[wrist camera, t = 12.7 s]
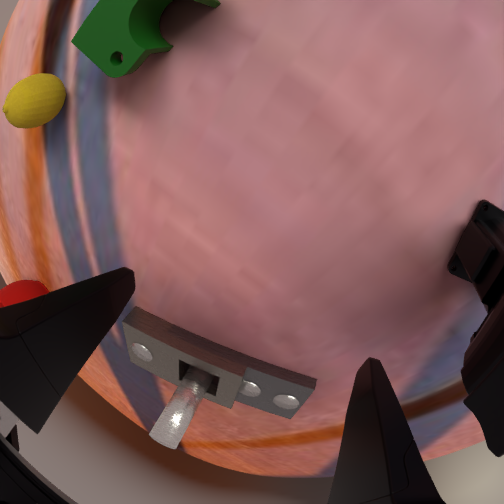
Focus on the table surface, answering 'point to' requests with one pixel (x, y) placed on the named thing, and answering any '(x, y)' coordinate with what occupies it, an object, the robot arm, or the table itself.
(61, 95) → the lemon
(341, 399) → the table surface
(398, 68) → the table surface
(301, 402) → the plate
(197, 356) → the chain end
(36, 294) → the ceramic cup
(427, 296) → the table surface
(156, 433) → the steel pin
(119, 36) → the clamp
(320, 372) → the table surface
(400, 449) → the robot arm
